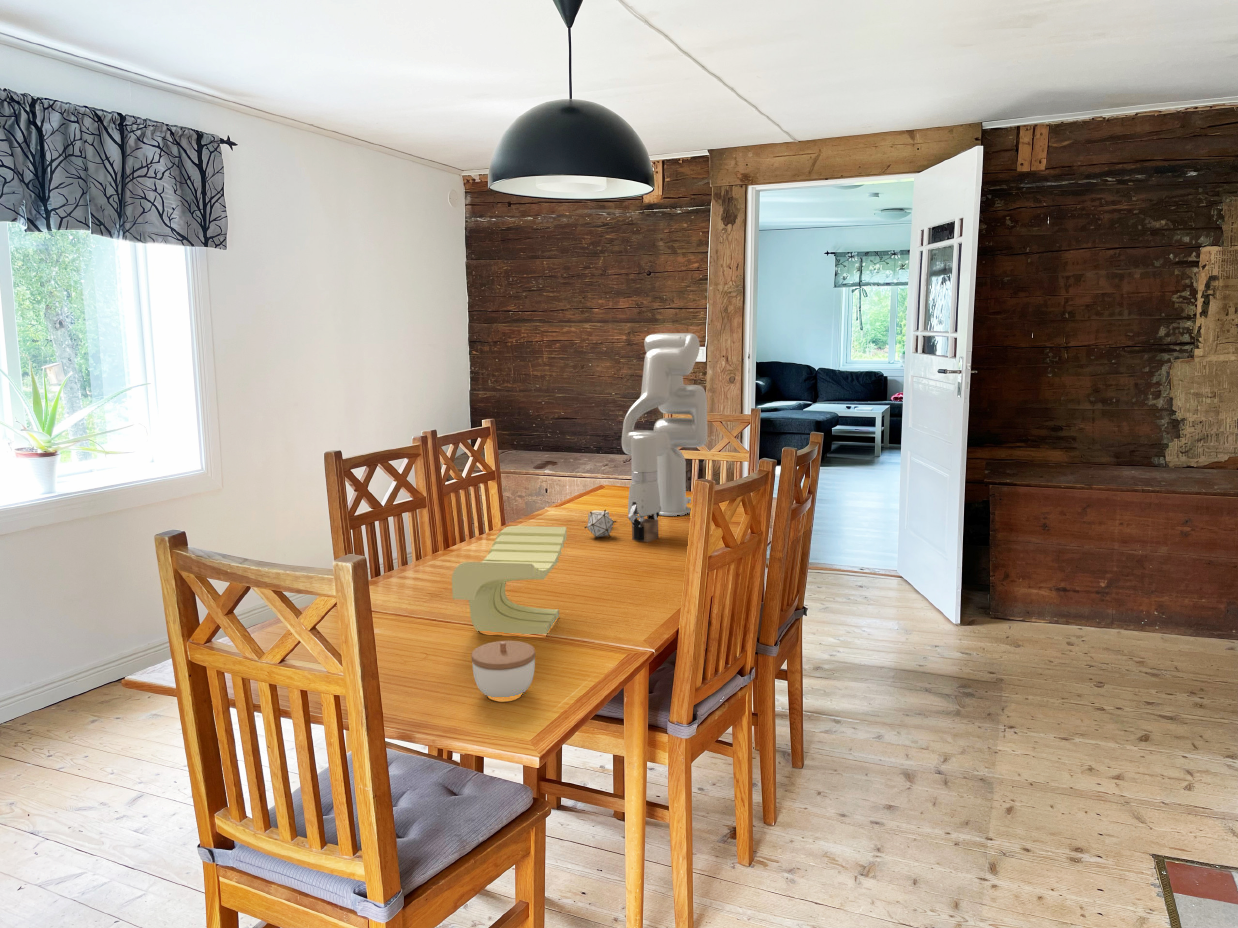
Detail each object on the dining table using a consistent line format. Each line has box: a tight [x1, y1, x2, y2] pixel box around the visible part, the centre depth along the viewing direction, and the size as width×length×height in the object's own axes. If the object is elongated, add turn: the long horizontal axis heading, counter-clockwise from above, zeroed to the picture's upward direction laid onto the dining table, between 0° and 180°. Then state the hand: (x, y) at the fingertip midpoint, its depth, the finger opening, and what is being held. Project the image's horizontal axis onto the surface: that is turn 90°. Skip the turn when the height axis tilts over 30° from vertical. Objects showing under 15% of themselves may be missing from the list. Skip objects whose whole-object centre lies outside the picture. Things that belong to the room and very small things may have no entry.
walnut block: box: [631, 517, 659, 543], centre depth 252 cm, size 6×6×6 cm
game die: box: [584, 509, 618, 540], centre depth 255 cm, size 9×8×10 cm
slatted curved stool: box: [451, 525, 568, 634], centre depth 180 cm, size 30×16×18 cm, turn 171°
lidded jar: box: [471, 640, 536, 697], centre depth 146 cm, size 11×11×9 cm
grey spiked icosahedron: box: [587, 510, 610, 531], centre depth 267 cm, size 5×5×5 cm
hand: (645, 537), depth 252 cm, fingers closed on walnut block, 5 cm apart
